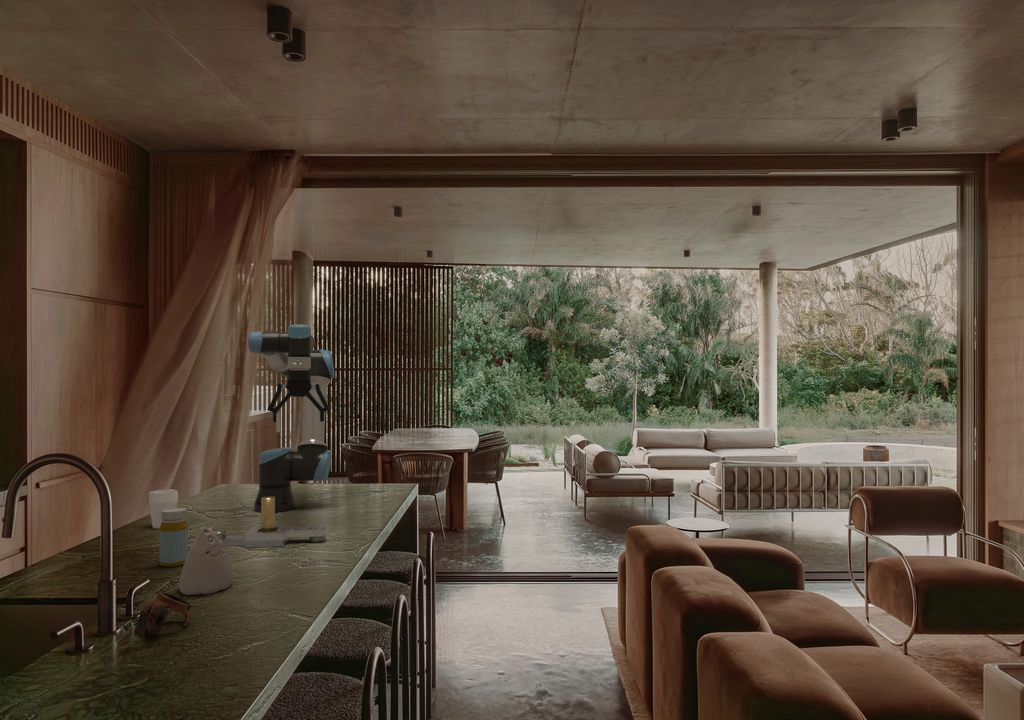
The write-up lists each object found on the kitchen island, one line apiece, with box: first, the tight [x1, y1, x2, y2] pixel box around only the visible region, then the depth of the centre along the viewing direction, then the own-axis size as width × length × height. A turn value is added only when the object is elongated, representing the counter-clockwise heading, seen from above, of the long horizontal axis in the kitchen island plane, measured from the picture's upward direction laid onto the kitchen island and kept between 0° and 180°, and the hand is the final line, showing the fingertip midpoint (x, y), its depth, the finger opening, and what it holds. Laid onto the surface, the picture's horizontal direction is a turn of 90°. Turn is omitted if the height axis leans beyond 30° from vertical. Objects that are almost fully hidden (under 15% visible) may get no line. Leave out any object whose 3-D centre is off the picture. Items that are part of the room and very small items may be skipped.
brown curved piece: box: [134, 591, 192, 637], centre depth 142 cm, size 12×10×8 cm
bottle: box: [158, 507, 189, 568], centre depth 190 cm, size 7×7×15 cm
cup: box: [148, 488, 179, 530], centre depth 236 cm, size 9×9×12 cm
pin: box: [260, 496, 276, 532], centre depth 214 cm, size 4×4×14 cm
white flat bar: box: [215, 524, 328, 549], centre depth 214 cm, size 11×35×4 cm, turn 99°
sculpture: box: [178, 526, 233, 596], centre depth 170 cm, size 13×12×15 cm
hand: (298, 431), depth 235 cm, fingers open, 13 cm apart
